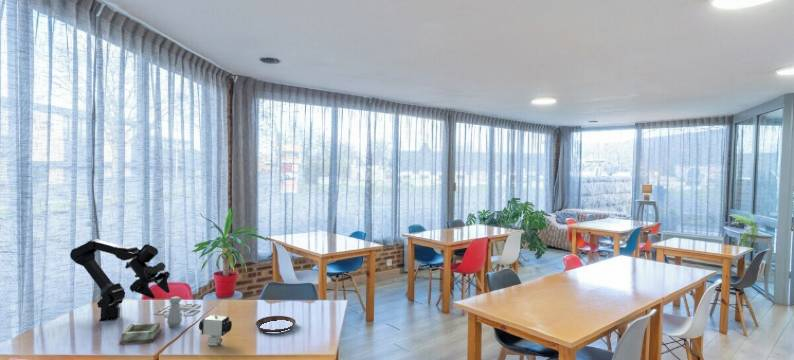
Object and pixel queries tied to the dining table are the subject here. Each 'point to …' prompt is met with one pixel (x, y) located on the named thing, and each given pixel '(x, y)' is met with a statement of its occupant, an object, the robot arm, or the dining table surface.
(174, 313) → the grey round-headed cylinder
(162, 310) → the floor plan model
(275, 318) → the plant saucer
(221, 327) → the pneumatic valve
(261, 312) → the dining table surface
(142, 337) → the holder
